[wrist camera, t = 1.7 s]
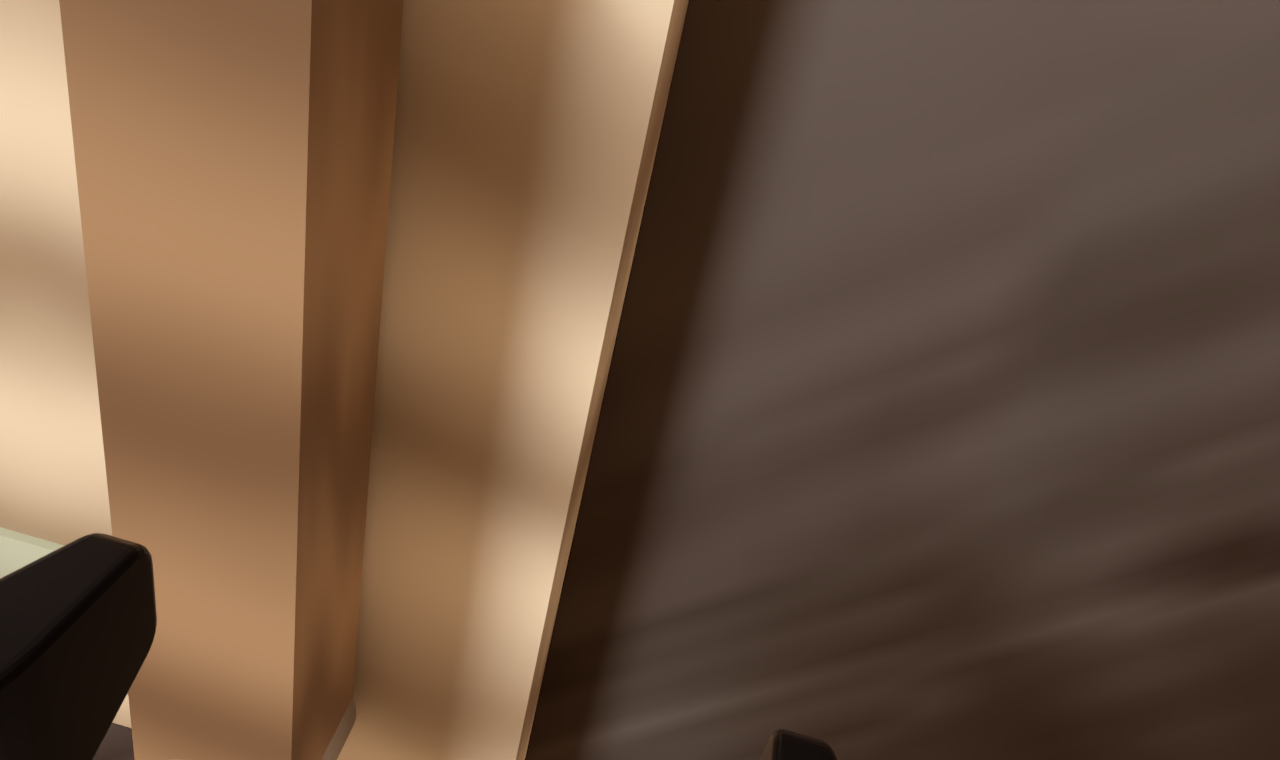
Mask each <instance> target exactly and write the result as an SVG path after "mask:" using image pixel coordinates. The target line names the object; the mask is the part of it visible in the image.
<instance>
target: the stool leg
mask: <svg viewBox="0 0 1280 760" xmlns="http://www.w3.org/2000/svg"><path fill="white" fill-rule="evenodd" d="M59 4H60V14H61V24H62V34H63V44H64V54H65V64H66V74H67V84H68V94H69V104H70V114H71V124H72V134H73V144H74V155H75V165H76V175H77V185H78V195H79V205H80V215H81V225H82V235H83V245H84V255H85V265H86V275H87V285H88V295H89V305H90V315H91V325H92V335H93V346H94V356H95V366H96V376H97V386H98V396H99V406H100V416H101V426H102V436H103V446H104V456H105V466H106V476H107V486H108V496H109V506H110V516H111V526H112V536H114V537H117V538H121V539H124V540H128V541H131V542H135V543H138V544H141V545H143V546H145V547H146V548H147V549H148V551H149V552H150V554H151V556H152V562H153V573H154V587H155V601H156V614H157V626H156V633H155V636H154V640H153V643H152V646H151V648H150V651H149V653H148V655H147V657H146V659H145V661H144V663H143V665H142V667H141V669H140V670H139V672H138V674H137V676H136V678H135V680H134V682H133V684H132V686H131V688H130V690H129V691H128V697H129V707H130V717H131V727H132V737H133V748H134V758H135V760H337V758H338V756H339V754H340V752H341V750H342V748H343V746H344V744H345V742H346V740H347V738H348V736H349V734H350V732H351V730H352V728H353V725H354V723H355V719H356V706H355V702H354V699H353V688H354V675H355V661H356V647H357V634H358V620H359V606H360V593H361V579H362V565H363V552H364V538H365V524H366V511H367V497H368V483H369V470H370V456H371V442H372V429H373V415H374V401H375V387H376V374H377V360H378V346H379V333H380V319H381V305H382V292H383V278H384V264H385V251H386V237H387V223H388V210H389V196H390V182H391V169H392V155H393V141H394V128H395V114H396V100H397V86H398V73H399V59H400V45H401V32H402V18H403V4H404V0H59Z"/></svg>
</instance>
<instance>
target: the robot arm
mask: <svg viewBox="0 0 1280 760" xmlns="http://www.w3.org/2000/svg"><path fill="white" fill-rule="evenodd" d="M156 626H157V614H156V601H155V587H154V573H153V562H152V556H151V554H150V552H149V551H148V549H147V548H146V547H145V546H143V545H141V544H138V543H135V542H131V541H128V540H124V539H121V538H117V537H114V536H111V535H107V534H102V533H93V534H89V535H85V536H83V537H80V538H78V539H76V540H74V541H72V542H70V543H68V544H66V545H65V546H63V547H61V548H59V549H57V550H55V551H53V552H51V553H49V554H47V555H45V556H43V557H41V558H39V559H37V560H35V561H33V562H31V563H29V564H27V565H25V566H23V567H21V568H20V569H18V570H16V571H14V572H12V573H10V574H8V575H6V576H4V577H2V578H0V760H93V758H94V756H95V754H96V753H97V751H98V749H99V747H100V745H101V743H102V741H103V739H104V737H105V735H106V733H107V732H108V730H109V728H110V726H111V724H112V722H113V720H114V718H115V716H116V714H117V712H118V711H119V709H120V707H121V705H122V703H123V701H124V699H125V697H126V695H127V693H128V691H129V690H130V688H131V686H132V684H133V682H134V680H135V678H136V676H137V674H138V672H139V670H140V669H141V667H142V665H143V663H144V661H145V659H146V657H147V655H148V653H149V651H150V648H151V646H152V643H153V640H154V636H155V633H156ZM760 760H837V759H836V757H835V754H834V752H833V750H832V748H831V747H830V746H829V745H828V744H827V743H826V742H824V741H822V740H819V739H815V738H812V737H808V736H805V735H801V734H798V733H794V732H791V731H787V730H781V729H779V730H776V731H774V732H773V733H772V734H771V735H770V737H769V739H768V741H767V744H766V746H765V748H764V751H763V753H762V756H761V758H760Z"/></svg>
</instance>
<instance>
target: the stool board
mask: <svg viewBox="0 0 1280 760" xmlns="http://www.w3.org/2000/svg"><path fill="white" fill-rule="evenodd" d="M688 2H689V0H404V4H403V18H402V32H401V45H400V59H399V73H398V86H397V100H396V114H395V128H394V141H393V155H392V169H391V182H390V196H389V210H388V223H387V237H386V251H385V264H384V278H383V292H382V305H381V319H380V333H379V346H378V360H377V374H376V387H375V401H374V415H373V429H372V442H371V456H370V470H369V483H368V497H367V511H366V524H365V538H364V552H363V565H362V579H361V593H360V606H359V620H358V634H357V647H356V661H355V675H354V688H353V699H354V702H355V706H356V719H355V723H354V725H353V728H352V730H351V732H350V734H349V736H348V738H347V740H346V742H345V744H344V746H343V748H342V750H341V752H340V754H339V756H338V758H337V760H525V757H526V753H527V748H528V743H529V739H530V734H531V729H532V725H533V720H534V715H535V711H536V706H537V702H538V697H539V692H540V688H541V683H542V678H543V674H544V669H545V664H546V660H547V655H548V651H549V646H550V641H551V637H552V632H553V627H554V623H555V618H556V614H557V609H558V604H559V600H560V595H561V590H562V586H563V581H564V576H565V572H566V567H567V563H568V558H569V553H570V549H571V544H572V539H573V535H574V530H575V525H576V521H577V516H578V512H579V507H580V502H581V498H582V493H583V488H584V484H585V479H586V475H587V470H588V465H589V461H590V456H591V451H592V447H593V442H594V437H595V433H596V428H597V424H598V419H599V414H600V410H601V405H602V400H603V396H604V391H605V386H606V382H607V377H608V373H609V368H610V363H611V359H612V354H613V349H614V345H615V340H616V336H617V331H618V326H619V322H620V317H621V312H622V308H623V303H624V298H625V294H626V289H627V285H628V280H629V275H630V271H631V266H632V261H633V257H634V252H635V247H636V243H637V238H638V234H639V229H640V224H641V220H642V215H643V210H644V206H645V201H646V197H647V192H648V187H649V183H650V178H651V173H652V169H653V164H654V159H655V155H656V150H657V146H658V141H659V136H660V132H661V127H662V122H663V118H664V113H665V108H666V104H667V99H668V95H669V90H670V85H671V81H672V76H673V71H674V67H675V62H676V58H677V53H678V48H679V44H680V39H681V34H682V30H683V25H684V20H685V16H686V11H687V7H688ZM93 533H102V534H107V535H111V536H112V526H111V516H110V506H109V496H108V486H107V476H106V466H105V456H104V446H103V436H102V426H101V416H100V406H99V396H98V386H97V376H96V366H95V356H94V346H93V335H92V325H91V315H90V305H89V295H88V285H87V275H86V265H85V255H84V245H83V235H82V225H81V215H80V205H79V195H78V185H77V175H76V165H75V155H74V144H73V134H72V124H71V114H70V104H69V94H68V84H67V74H66V64H65V54H64V44H63V34H62V24H61V14H60V4H59V0H0V578H2V577H4V576H6V575H8V574H10V573H12V572H14V571H16V570H18V569H20V568H21V567H23V566H25V565H27V564H29V563H31V562H33V561H35V560H37V559H39V558H41V557H43V556H45V555H47V554H49V553H51V552H53V551H55V550H57V549H59V548H61V547H63V546H65V545H66V544H68V543H70V542H72V541H74V540H76V539H78V538H80V537H83V536H85V535H89V534H93ZM113 723H116V724H119V725H123V726H126V727H130V728H132V727H131V717H130V707H129V697H128V693H127V695H126V697H125V699H124V701H123V703H122V705H121V707H120V709H119V711H118V712H117V714H116V716H115V718H114V720H113Z"/></svg>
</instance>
